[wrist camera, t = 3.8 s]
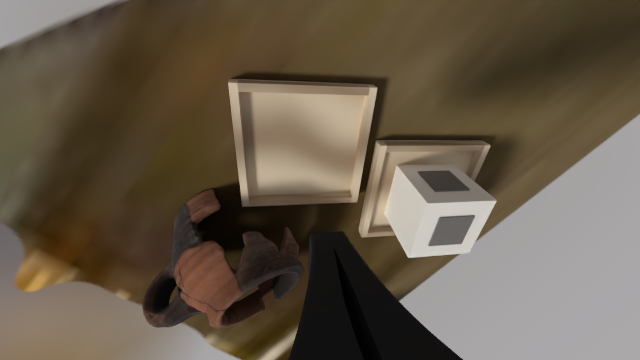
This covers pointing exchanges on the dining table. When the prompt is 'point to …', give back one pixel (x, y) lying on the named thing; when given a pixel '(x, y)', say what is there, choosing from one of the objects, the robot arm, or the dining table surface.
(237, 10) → the dining table surface
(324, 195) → the tray near
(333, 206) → the dining table surface
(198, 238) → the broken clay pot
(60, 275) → the dining table surface
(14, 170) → the dining table surface
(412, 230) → the white marked cube
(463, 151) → the tray far
